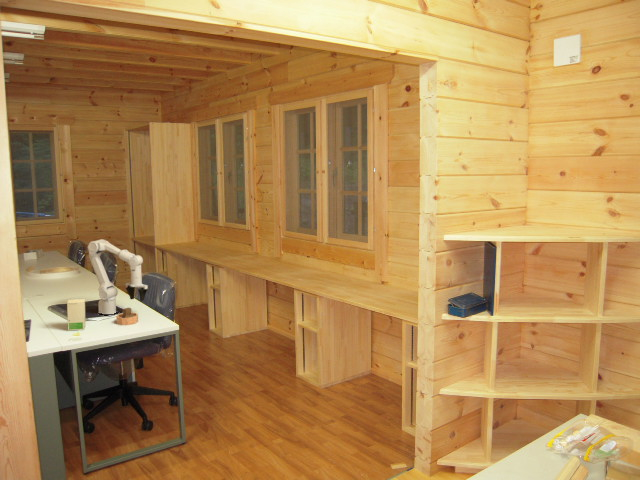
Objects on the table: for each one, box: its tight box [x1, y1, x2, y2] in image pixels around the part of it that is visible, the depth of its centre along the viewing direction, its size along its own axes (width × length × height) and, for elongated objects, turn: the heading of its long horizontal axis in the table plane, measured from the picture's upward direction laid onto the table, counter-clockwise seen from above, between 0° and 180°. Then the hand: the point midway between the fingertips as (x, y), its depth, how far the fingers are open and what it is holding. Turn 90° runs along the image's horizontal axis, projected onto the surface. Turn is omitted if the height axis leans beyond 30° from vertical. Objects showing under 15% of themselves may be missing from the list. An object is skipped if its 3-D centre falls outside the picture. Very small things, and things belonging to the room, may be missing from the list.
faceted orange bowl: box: [115, 312, 139, 326], centre depth 303 cm, size 11×11×4 cm
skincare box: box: [66, 298, 86, 332], centre depth 290 cm, size 8×7×16 cm
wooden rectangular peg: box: [122, 307, 132, 318], centre depth 303 cm, size 2×4×7 cm, turn 154°
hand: (137, 299), depth 313 cm, fingers open, 7 cm apart
